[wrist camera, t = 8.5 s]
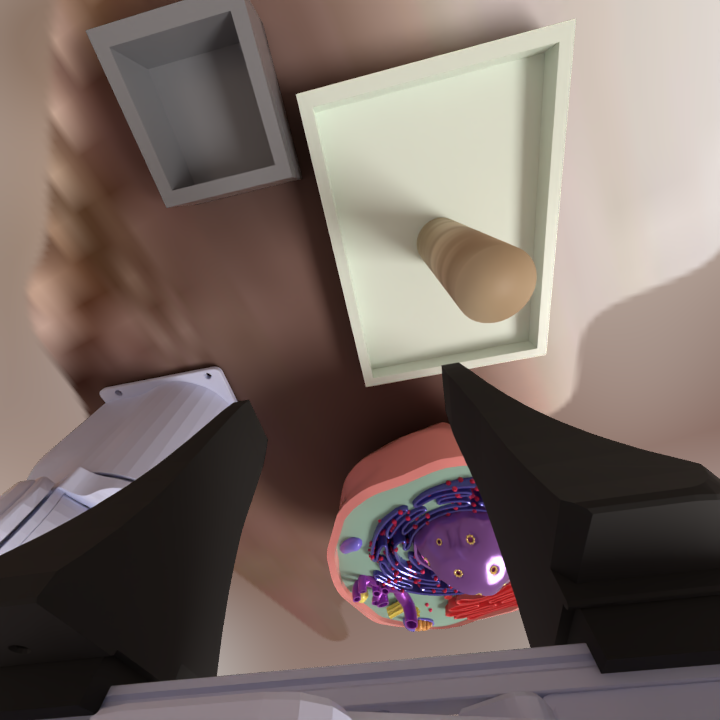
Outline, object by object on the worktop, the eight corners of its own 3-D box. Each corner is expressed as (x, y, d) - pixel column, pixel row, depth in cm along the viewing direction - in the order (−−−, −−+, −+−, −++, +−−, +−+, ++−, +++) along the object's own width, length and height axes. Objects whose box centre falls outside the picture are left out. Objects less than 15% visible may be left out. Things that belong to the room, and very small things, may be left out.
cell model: (322, 528, 32) (307, 681, 22) (349, 359, 23) (344, 493, 13) (480, 542, 34) (532, 691, 24) (568, 388, 24) (717, 529, 14)
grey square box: (196, 204, 18) (166, 207, 15) (137, 60, 15) (85, 30, 12) (302, 178, 17) (292, 176, 14) (262, 23, 14) (239, -17, 11)
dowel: (422, 270, 19) (462, 332, 11) (411, 226, 18) (448, 260, 10) (465, 256, 19) (538, 310, 11) (457, 210, 17) (534, 232, 9)
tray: (365, 373, 23) (365, 387, 22) (301, 103, 16) (295, 94, 14) (532, 342, 22) (546, 354, 20) (552, 36, 14) (576, 18, 13)
